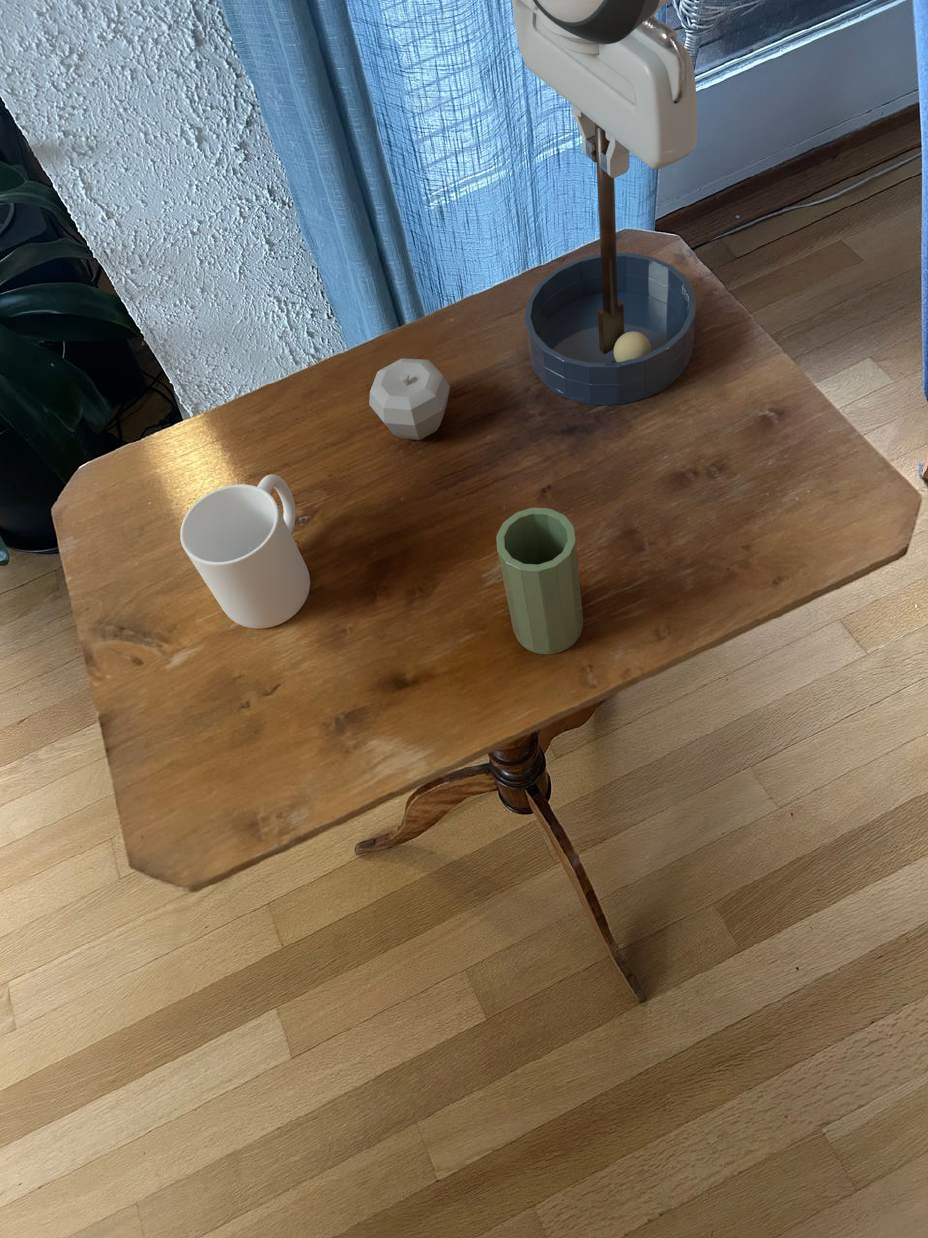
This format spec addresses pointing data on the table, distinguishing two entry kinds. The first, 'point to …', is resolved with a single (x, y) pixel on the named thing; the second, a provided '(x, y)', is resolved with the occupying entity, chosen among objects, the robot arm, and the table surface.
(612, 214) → the dark wooden dowel
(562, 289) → the bowl
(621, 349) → the dough ball
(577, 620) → the crock
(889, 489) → the table surface
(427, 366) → the grey apple
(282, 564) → the cup
